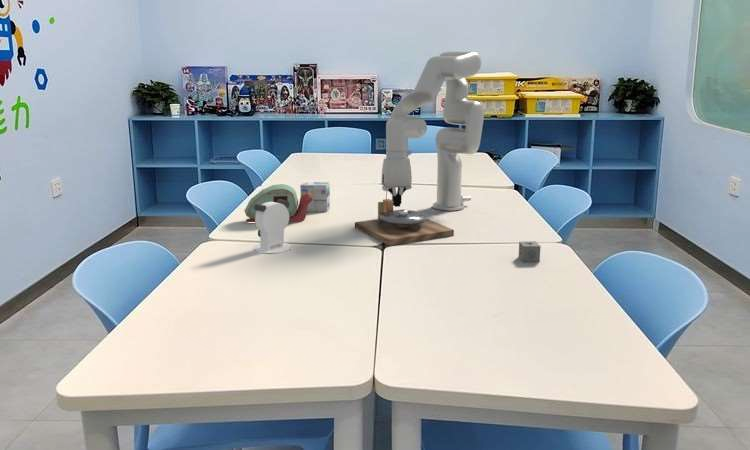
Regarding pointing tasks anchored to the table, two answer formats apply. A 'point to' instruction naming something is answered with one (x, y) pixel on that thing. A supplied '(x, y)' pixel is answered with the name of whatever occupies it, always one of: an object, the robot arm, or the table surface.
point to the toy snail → (285, 194)
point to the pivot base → (402, 230)
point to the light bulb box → (317, 195)
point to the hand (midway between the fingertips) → (396, 205)
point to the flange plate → (403, 219)
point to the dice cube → (529, 251)
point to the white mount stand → (272, 226)
